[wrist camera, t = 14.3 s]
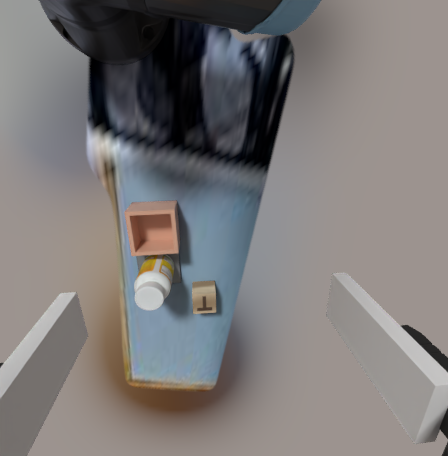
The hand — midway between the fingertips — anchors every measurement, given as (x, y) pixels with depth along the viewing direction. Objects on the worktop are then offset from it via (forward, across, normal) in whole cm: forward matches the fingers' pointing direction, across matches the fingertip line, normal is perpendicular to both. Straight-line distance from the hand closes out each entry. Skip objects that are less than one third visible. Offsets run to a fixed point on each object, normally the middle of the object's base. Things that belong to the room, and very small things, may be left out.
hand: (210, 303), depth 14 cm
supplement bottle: (+30, -8, -14) cm, 34 cm away
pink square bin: (+31, -8, -6) cm, 32 cm away
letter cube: (+31, 0, -20) cm, 37 cm away
